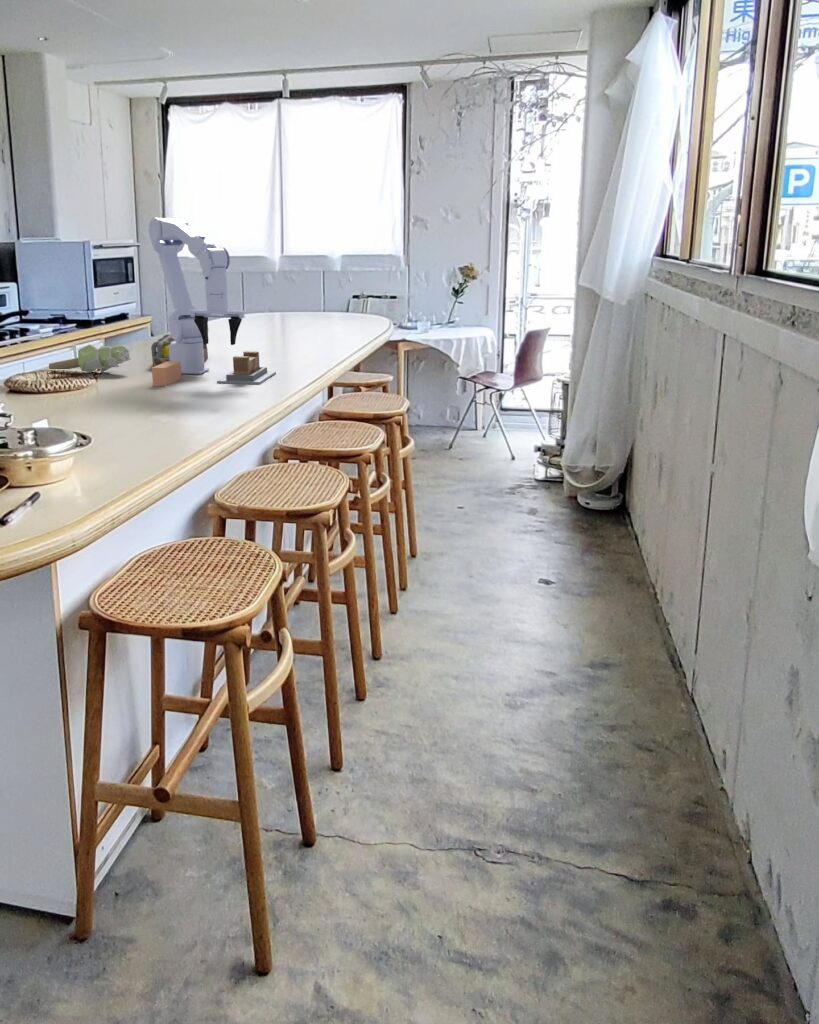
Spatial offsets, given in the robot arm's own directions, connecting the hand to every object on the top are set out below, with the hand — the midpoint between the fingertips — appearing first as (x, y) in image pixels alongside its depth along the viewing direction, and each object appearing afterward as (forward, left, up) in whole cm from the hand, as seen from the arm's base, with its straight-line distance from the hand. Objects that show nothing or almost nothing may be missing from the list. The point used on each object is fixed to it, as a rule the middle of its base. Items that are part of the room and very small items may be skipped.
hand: (219, 344), depth 233 cm
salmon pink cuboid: (-13, -6, -10) cm, 18 cm away
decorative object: (-41, +5, -10) cm, 42 cm away
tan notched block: (+7, +3, -9) cm, 12 cm away
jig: (+7, +3, -10) cm, 12 cm away
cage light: (-22, +29, -10) cm, 38 cm away
